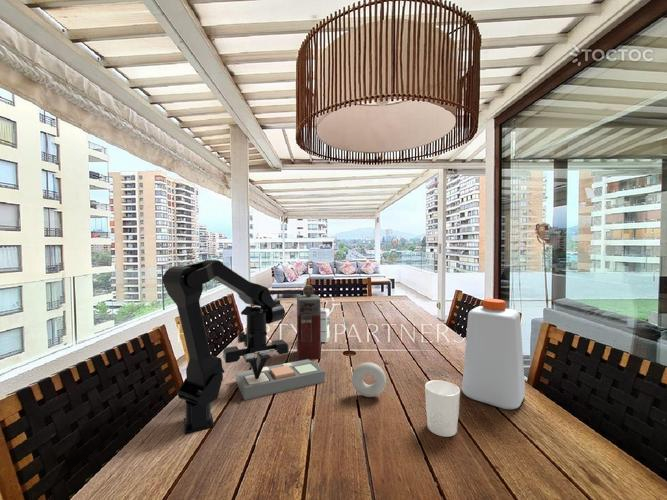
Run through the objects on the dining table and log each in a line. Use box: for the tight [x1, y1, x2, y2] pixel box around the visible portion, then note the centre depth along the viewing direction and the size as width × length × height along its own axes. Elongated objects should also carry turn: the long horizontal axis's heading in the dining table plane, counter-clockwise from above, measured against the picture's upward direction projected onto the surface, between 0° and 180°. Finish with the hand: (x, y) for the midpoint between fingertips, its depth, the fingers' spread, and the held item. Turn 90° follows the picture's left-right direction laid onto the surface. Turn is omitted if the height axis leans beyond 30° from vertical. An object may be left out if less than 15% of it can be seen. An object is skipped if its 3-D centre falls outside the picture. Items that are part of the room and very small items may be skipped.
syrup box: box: [321, 307, 331, 344], centre depth 141 cm, size 6×6×14 cm
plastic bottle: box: [461, 298, 526, 410], centre depth 90 cm, size 15×15×28 cm
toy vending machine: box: [296, 284, 322, 361], centre depth 122 cm, size 9×11×28 cm
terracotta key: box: [270, 365, 294, 380], centre depth 97 cm, size 6×6×2 cm
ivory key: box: [245, 373, 269, 385], centre depth 94 cm, size 6×6×2 cm
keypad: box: [235, 359, 325, 401], centre depth 99 cm, size 13×25×4 cm, turn 117°
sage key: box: [294, 364, 318, 375], centre depth 101 cm, size 6×6×2 cm
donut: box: [351, 361, 387, 398], centre depth 90 cm, size 10×4×10 cm, turn 82°
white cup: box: [424, 379, 461, 438], centre depth 74 cm, size 8×8×10 cm
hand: (256, 378), depth 94 cm, fingers closed, pressing on ivory key
